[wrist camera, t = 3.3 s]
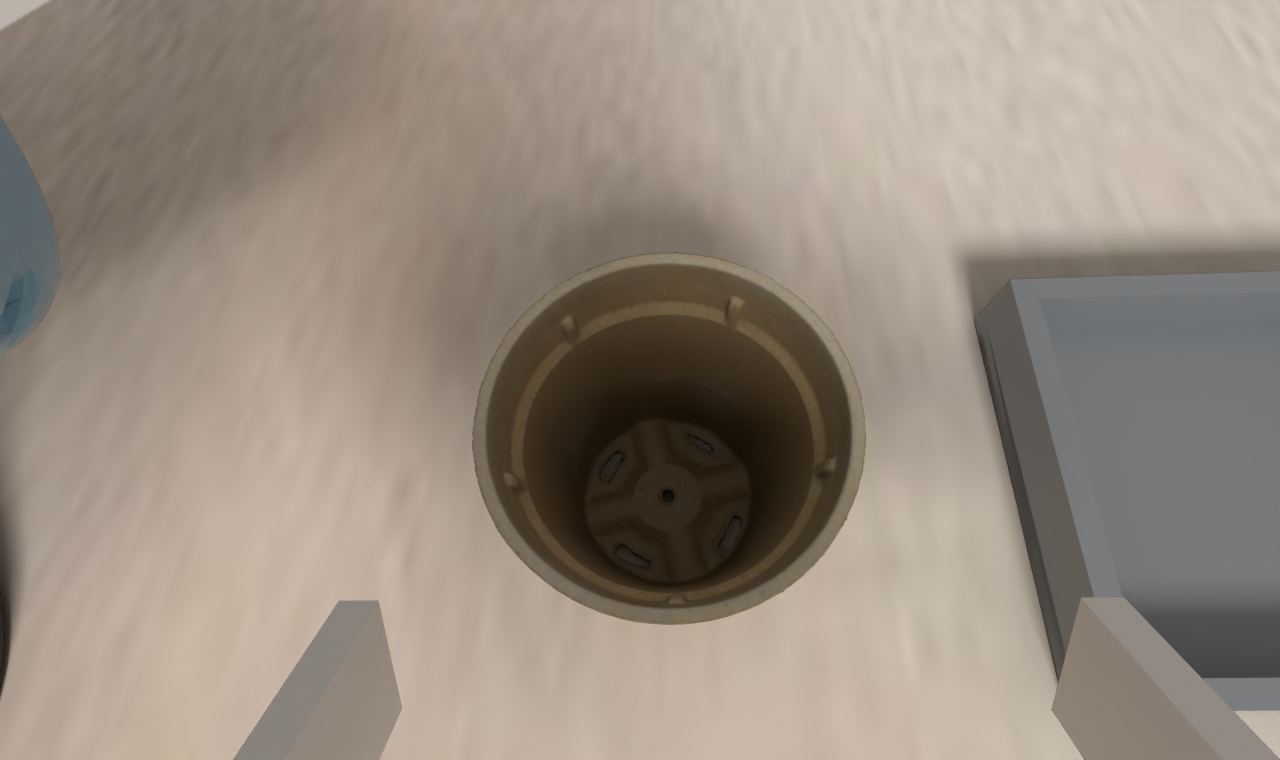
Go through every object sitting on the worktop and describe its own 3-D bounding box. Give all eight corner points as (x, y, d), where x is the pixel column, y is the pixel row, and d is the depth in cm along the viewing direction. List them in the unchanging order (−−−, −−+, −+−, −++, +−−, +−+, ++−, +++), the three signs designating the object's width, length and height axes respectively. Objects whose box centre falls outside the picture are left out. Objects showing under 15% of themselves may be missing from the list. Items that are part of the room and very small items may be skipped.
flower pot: (561, 366, 26) (512, 237, 18) (803, 388, 25) (864, 264, 17) (515, 618, 22) (430, 595, 14) (796, 654, 22) (869, 650, 14)
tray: (1063, 704, 21) (1124, 711, 18) (973, 319, 26) (1010, 279, 23) (1518, 701, 20) (1653, 707, 17) (1333, 309, 25) (1412, 267, 23)
